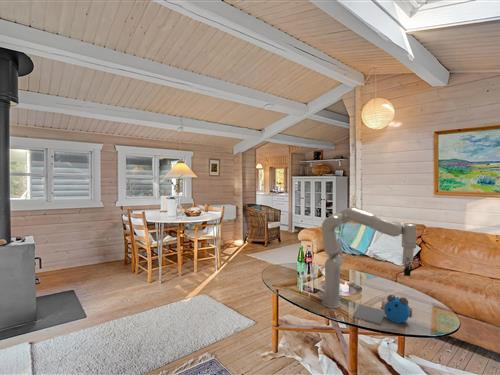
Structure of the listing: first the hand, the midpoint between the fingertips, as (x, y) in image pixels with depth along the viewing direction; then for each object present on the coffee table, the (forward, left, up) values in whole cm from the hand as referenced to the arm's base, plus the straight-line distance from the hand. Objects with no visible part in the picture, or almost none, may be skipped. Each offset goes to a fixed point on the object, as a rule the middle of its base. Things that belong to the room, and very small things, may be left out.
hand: (407, 273), depth 175 cm
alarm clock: (-5, -3, -29) cm, 30 cm away
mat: (-19, -4, -29) cm, 35 cm away
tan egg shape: (-12, +12, -29) cm, 34 cm away
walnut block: (+1, +10, -29) cm, 31 cm away
